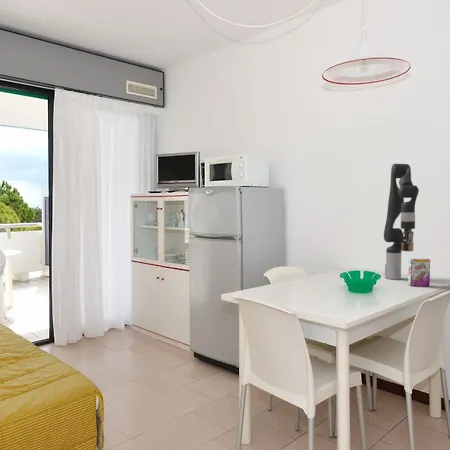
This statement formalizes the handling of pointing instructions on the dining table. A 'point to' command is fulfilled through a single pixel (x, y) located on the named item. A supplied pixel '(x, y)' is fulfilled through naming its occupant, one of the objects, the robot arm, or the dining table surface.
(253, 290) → the dining table surface
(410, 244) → the walnut cube
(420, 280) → the candy bar box
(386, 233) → the robot arm
